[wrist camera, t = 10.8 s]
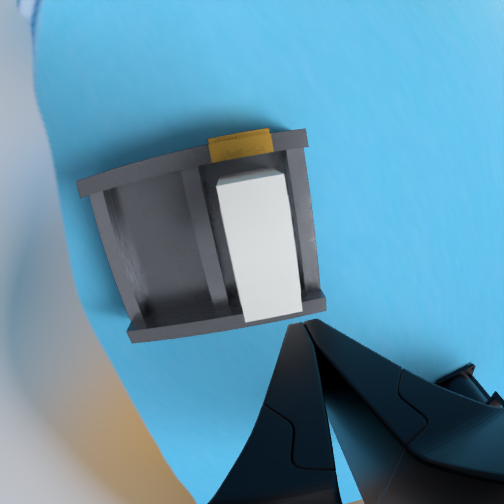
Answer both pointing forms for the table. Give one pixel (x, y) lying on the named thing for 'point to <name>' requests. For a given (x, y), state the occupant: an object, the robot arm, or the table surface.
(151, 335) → the grey divided tray
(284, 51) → the table surface
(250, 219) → the white rectangular block
